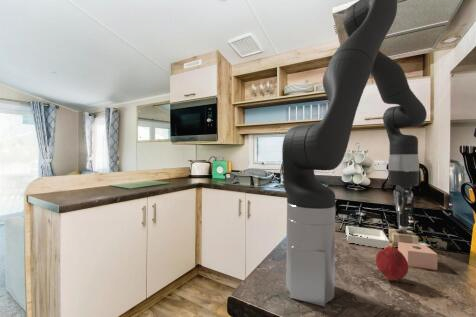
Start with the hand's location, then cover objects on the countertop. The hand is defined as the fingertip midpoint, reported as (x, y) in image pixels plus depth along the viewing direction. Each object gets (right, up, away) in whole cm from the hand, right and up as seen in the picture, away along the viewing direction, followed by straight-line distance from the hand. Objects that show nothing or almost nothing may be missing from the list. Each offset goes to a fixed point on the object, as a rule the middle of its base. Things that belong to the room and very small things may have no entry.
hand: (402, 225), depth 67 cm
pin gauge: (0, -4, 0) cm, 4 cm away
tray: (-9, -6, +4) cm, 12 cm away
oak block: (0, -6, 0) cm, 6 cm away
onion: (-18, -6, -20) cm, 27 cm away
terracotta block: (-5, -6, -11) cm, 14 cm away
